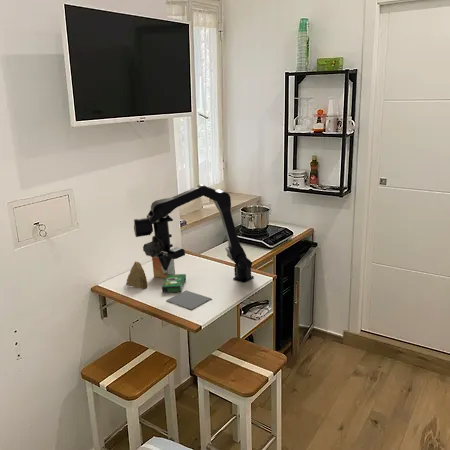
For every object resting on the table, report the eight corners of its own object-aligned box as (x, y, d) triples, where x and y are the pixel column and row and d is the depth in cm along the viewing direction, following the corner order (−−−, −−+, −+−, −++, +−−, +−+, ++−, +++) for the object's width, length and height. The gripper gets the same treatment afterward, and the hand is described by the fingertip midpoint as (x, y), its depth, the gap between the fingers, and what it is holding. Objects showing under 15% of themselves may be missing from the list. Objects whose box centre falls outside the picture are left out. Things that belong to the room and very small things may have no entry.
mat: (211, 299, 186) (211, 298, 186) (191, 310, 178) (191, 309, 178) (186, 291, 195) (186, 290, 195) (166, 301, 187) (166, 300, 187)
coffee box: (181, 292, 194) (186, 279, 207) (181, 286, 193) (185, 273, 206) (162, 293, 195) (168, 280, 207) (161, 286, 194) (167, 273, 207)
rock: (154, 282, 200) (150, 271, 209) (140, 270, 196) (136, 259, 205) (135, 299, 201) (131, 287, 209) (120, 288, 196) (118, 276, 205)
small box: (153, 277, 212) (151, 254, 209) (161, 272, 217) (158, 250, 214) (168, 279, 208) (166, 256, 205) (175, 274, 213) (173, 252, 210)
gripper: (130, 234, 187) (135, 272, 192) (162, 242, 175) (166, 281, 180) (151, 227, 195) (155, 263, 200) (184, 234, 183) (187, 272, 188)
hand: (165, 270), depth 191 cm, fingers closed
